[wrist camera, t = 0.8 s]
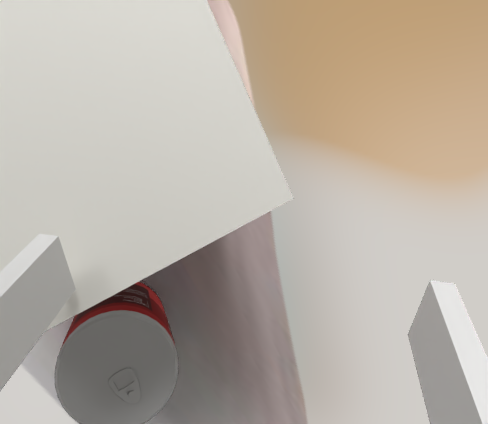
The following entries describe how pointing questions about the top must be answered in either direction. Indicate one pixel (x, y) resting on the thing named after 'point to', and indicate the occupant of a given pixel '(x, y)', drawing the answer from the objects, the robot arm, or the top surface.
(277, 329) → the top surface
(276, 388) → the top surface
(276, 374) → the top surface
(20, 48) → the shelf
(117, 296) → the canned food
